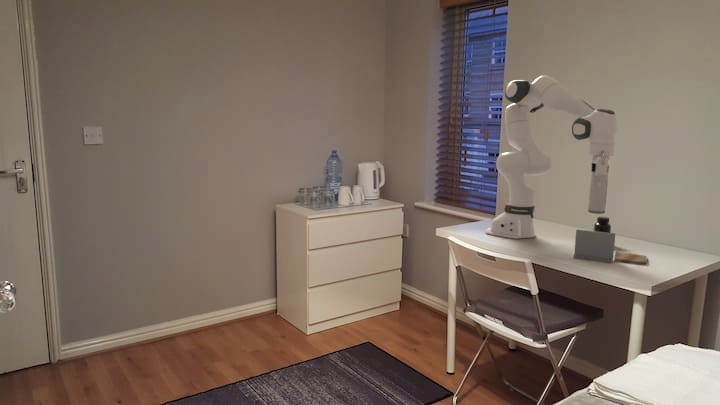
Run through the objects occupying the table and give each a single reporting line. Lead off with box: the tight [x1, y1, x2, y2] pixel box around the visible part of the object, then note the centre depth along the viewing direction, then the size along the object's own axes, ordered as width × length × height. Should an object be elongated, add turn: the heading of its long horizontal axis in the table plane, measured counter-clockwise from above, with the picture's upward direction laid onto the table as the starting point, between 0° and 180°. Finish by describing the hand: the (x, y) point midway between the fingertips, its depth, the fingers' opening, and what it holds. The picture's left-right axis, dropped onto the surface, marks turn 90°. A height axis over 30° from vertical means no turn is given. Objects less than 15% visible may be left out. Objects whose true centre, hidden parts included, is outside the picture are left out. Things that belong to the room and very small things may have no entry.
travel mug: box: [587, 162, 610, 215], centre depth 211 cm, size 6×7×20 cm
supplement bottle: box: [593, 216, 612, 233], centre depth 231 cm, size 7×7×12 cm
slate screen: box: [573, 228, 616, 264], centre depth 206 cm, size 14×4×11 cm, turn 62°
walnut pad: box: [613, 251, 647, 266], centre depth 208 cm, size 11×11×1 cm
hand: (598, 185), depth 211 cm, fingers closed on travel mug, 6 cm apart
